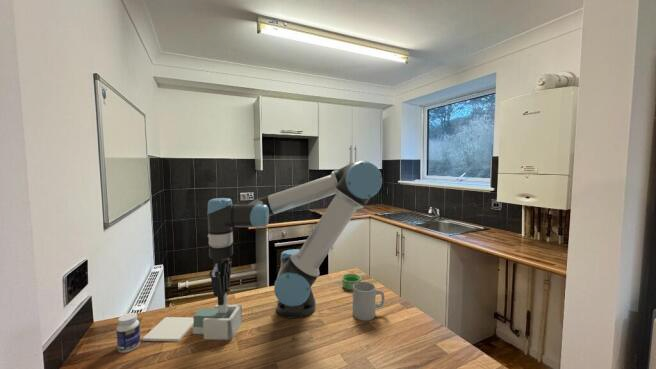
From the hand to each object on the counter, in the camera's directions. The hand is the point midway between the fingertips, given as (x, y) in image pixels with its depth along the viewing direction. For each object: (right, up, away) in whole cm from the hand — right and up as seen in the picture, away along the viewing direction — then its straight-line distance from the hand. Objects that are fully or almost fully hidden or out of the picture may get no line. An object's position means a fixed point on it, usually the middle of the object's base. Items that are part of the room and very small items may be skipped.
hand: (222, 312), depth 91 cm
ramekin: (+47, -4, +33) cm, 58 cm away
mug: (+51, -6, +10) cm, 53 cm away
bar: (-4, -4, 0) cm, 6 cm away
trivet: (-18, -7, +1) cm, 19 cm away
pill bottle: (-26, -7, -8) cm, 28 cm away
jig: (-2, -7, +1) cm, 7 cm away
